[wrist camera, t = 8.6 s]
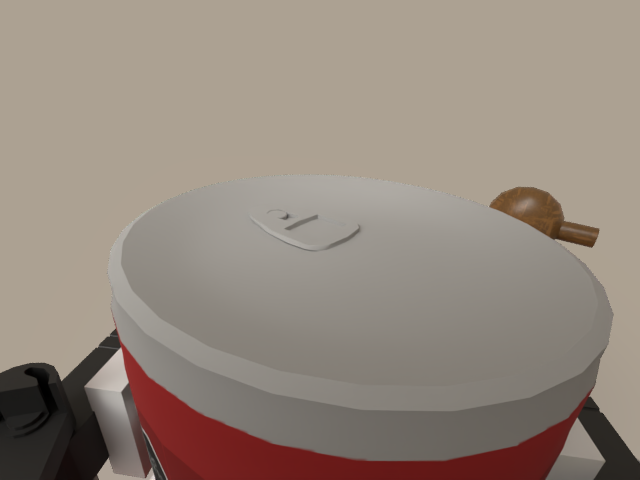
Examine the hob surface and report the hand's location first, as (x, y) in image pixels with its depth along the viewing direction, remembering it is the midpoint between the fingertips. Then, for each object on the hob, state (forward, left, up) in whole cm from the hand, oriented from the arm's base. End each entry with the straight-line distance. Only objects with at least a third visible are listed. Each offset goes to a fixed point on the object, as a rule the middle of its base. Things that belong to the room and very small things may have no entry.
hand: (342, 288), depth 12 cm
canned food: (-2, +4, -7) cm, 8 cm away
